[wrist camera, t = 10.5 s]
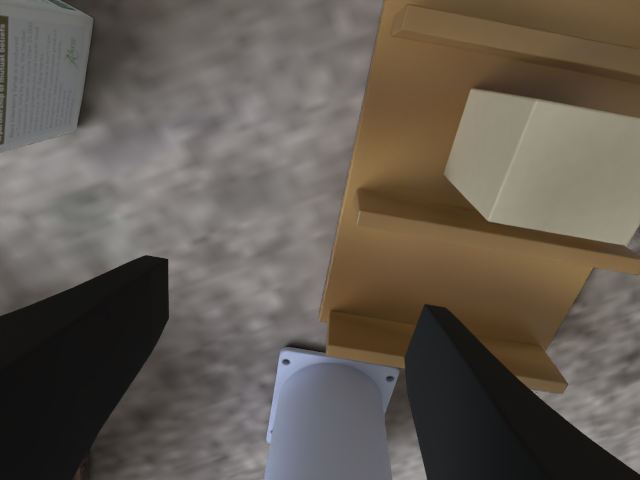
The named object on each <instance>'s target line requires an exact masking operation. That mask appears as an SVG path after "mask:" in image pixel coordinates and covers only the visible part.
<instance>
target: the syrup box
mask: <svg viewBox="0 0 640 480" xmlns="http://www.w3.org/2000/svg"><path fill="white" fill-rule="evenodd" d="M92 27H93V18H92V17H91V16H89V15H87V14H85V13H83V12H81V11H80V10H78V9H76V8H74V7H72V6H70V5H69V4H67V3H65V2H63V1H61V0H0V152H4V151H7V150H11V149H15V148H18V147H22V146H26V145H29V144H33V143H37V142H40V141H43V140H47V139H51V138H55V137H59V136H62V135H66V134H69V133H72V132H74V131H75V130H76V127H77V123H78V117H79V113H80V107H81V102H82V96H83V89H84V82H85V76H86V69H87V62H88V56H89V48H90V42H91V35H92Z"/></svg>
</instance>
